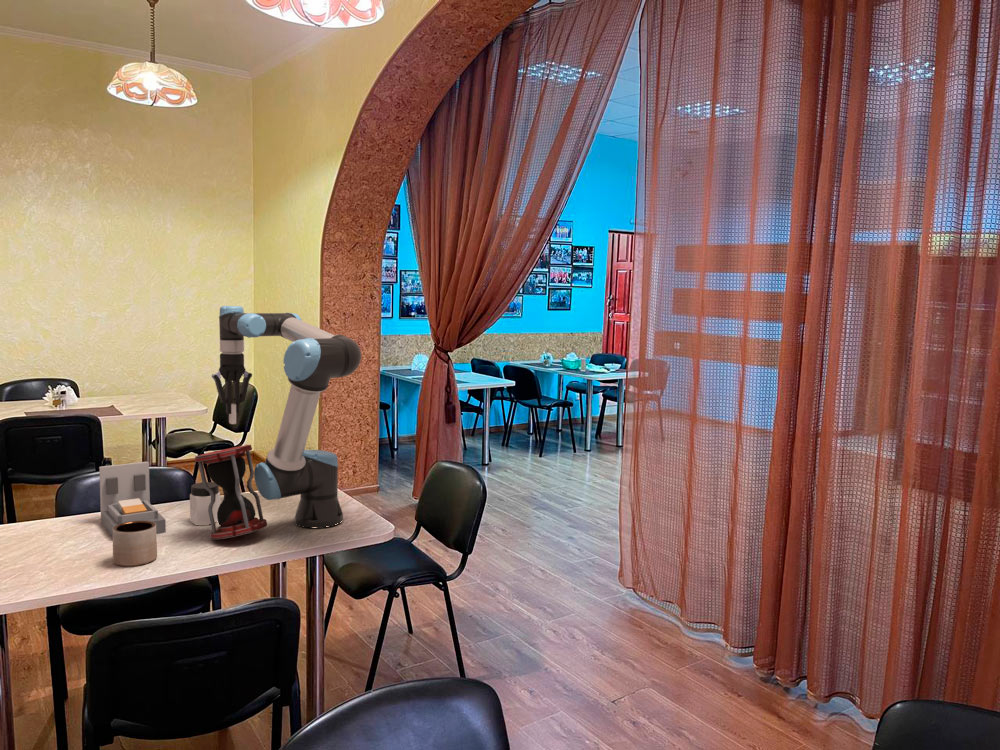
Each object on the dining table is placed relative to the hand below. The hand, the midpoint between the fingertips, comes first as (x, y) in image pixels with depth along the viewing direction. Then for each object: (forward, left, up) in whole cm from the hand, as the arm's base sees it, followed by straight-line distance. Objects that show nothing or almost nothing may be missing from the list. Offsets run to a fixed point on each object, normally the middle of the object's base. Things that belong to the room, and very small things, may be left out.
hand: (232, 423), depth 253 cm
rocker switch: (-3, +32, -24) cm, 40 cm away
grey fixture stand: (-3, +32, -29) cm, 44 cm away
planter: (-33, +38, -30) cm, 58 cm away
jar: (-9, +12, -30) cm, 33 cm away
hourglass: (-30, +9, -28) cm, 42 cm away
